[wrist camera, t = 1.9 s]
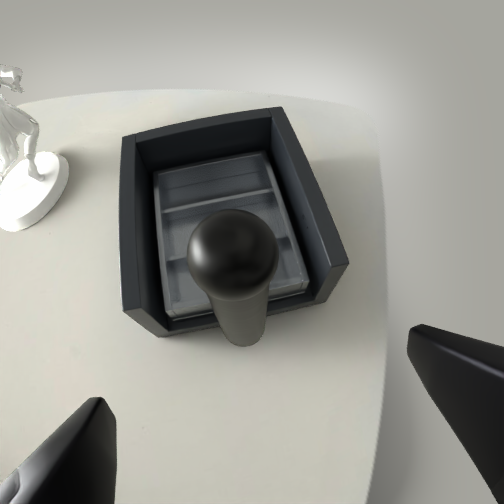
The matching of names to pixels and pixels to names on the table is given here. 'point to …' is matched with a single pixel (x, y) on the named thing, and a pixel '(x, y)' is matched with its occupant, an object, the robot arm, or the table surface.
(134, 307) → the grey drawer case
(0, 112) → the figurine
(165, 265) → the pull-out drawer
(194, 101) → the table surface
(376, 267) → the table surface
